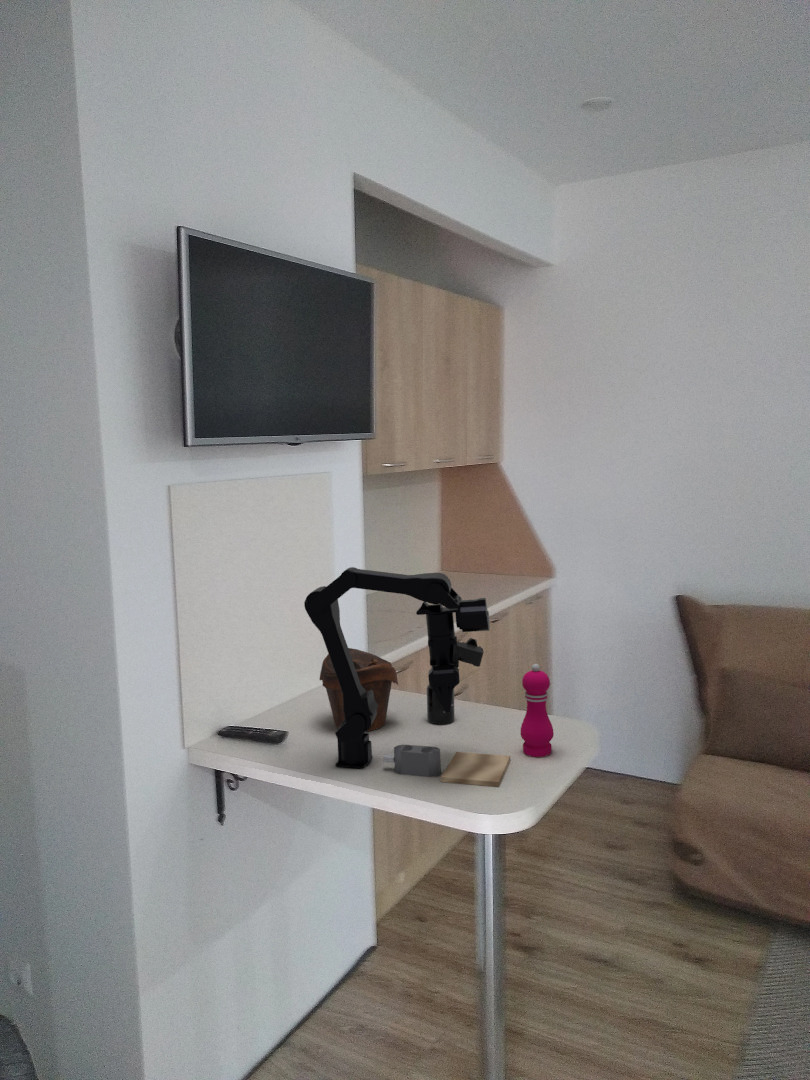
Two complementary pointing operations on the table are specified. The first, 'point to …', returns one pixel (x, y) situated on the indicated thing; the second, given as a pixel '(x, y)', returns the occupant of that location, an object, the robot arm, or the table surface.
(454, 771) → the cork mat
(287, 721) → the table surface
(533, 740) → the pepper mill
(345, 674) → the robot arm
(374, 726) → the brown tapered rounded piece
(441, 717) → the supplement bottle
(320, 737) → the table surface
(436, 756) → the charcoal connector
